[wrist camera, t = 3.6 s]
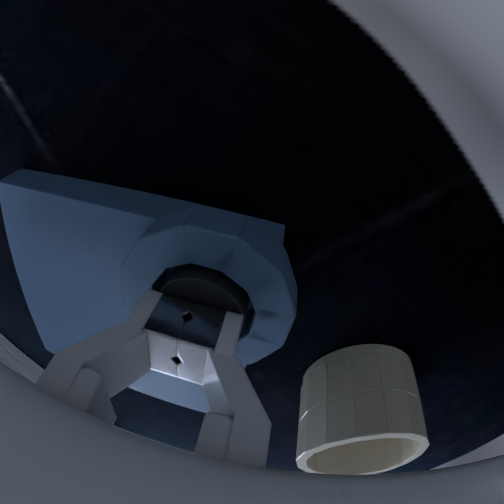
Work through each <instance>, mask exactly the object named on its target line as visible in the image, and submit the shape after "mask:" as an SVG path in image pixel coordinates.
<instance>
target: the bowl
mask: <svg viewBox="0 0 504 504" xmlns="http://www.w3.org/2000/svg"><path fill="white" fill-rule="evenodd" d="M428 446H429V438H428V432H427V426H426V420H425V415H424V410H423V405H422V400H421V396H420V391H419V387H418V382H417V378H416V374H415V372H414V368H413V364H412V361H411V359H410V357H409V356H408V355H407V354H406V353H405V352H403V351H402V350H400V349H398V348H395V347H393V346H388V345H383V344H361V345H354V346H350V347H345V348H342V349H339V350H336V351H334V352H331V353H329V354H327V355H325V356H323V357H321V358H320V359H318V360H317V361H316V362H314V363H313V364H312V365H311V366H310V367H309V368H308V370H307V371H306V372H305V374H304V376H303V380H302V387H301V399H300V414H299V428H298V440H297V452H296V462H297V466H298V468H300V469H302V470H304V471H305V472H307V473H321V474H346V475H368V474H376V473H380V472H384V471H388V470H391V469H394V468H397V467H399V466H402V465H404V464H407V463H409V462H410V461H412V460H414V459H415V458H417V457H418V456H420V455H422V454H423V453H424V451H425V450H426V449H427V447H428Z"/></svg>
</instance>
